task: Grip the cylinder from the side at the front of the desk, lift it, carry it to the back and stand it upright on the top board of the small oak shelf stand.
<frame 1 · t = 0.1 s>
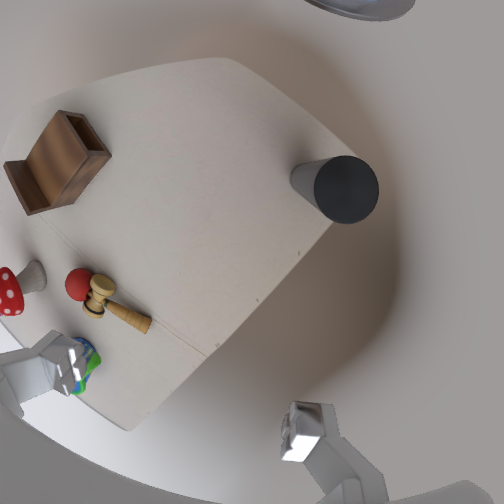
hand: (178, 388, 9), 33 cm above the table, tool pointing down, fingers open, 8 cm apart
decorative mushroom: (40, 273, 47), on the table
kendama: (113, 295, 46), on the table
snack cup: (86, 349, 51), on the table
shelf: (76, 158, 39), on the table
cylinder: (306, 179, 38), on the table
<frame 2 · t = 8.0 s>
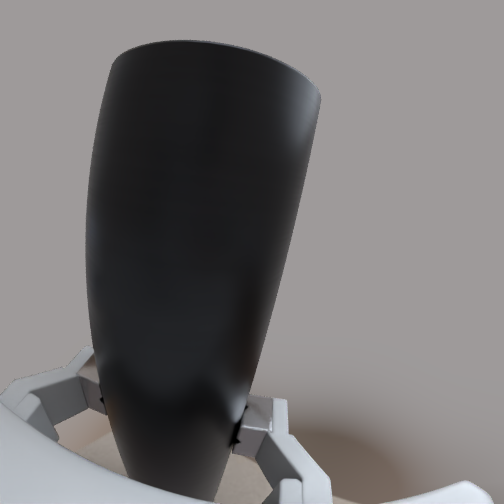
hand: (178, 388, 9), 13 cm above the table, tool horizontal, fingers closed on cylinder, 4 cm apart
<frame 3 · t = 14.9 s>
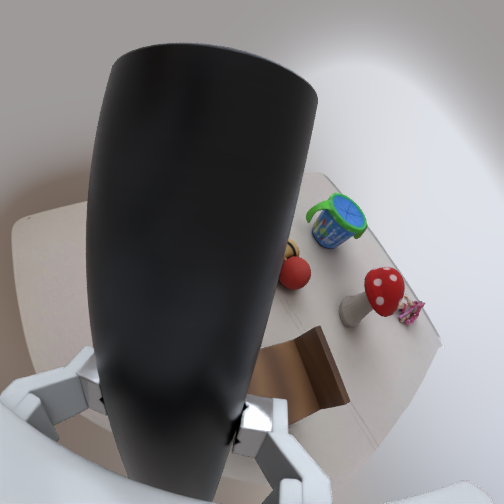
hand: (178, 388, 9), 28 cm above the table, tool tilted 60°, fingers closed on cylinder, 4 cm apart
decorative mushroom: (346, 314, 55), on the table
toy: (400, 314, 63), on the table
kendama: (265, 256, 54), on the table
snack cup: (323, 237, 65), on the table
shelf: (254, 393, 37), on the table
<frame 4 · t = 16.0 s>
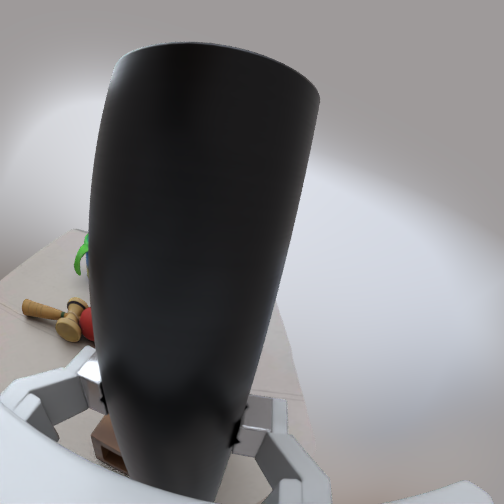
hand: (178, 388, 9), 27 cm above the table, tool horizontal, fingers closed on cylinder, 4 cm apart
kendama: (64, 328, 39), on the table
snack cup: (102, 280, 57), on the table
shelf: (152, 446, 27), on the table
when the fingers open (20 cm above the table, at t = 22.3 s): cylinder stays where it is, resting on shelf.
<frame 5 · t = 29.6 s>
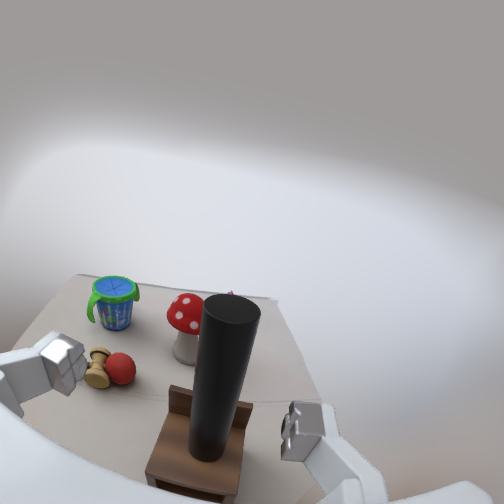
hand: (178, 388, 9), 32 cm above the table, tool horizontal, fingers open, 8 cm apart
decorative mushroom: (186, 357, 55), on the table
kendama: (91, 376, 41), on the table
snack cup: (115, 323, 59), on the table
shelf: (196, 469, 30), on the table
cylinder: (206, 448, 28), point 7 cm above the table, touching shelf
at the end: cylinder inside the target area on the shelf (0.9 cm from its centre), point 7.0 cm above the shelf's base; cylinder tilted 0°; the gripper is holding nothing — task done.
